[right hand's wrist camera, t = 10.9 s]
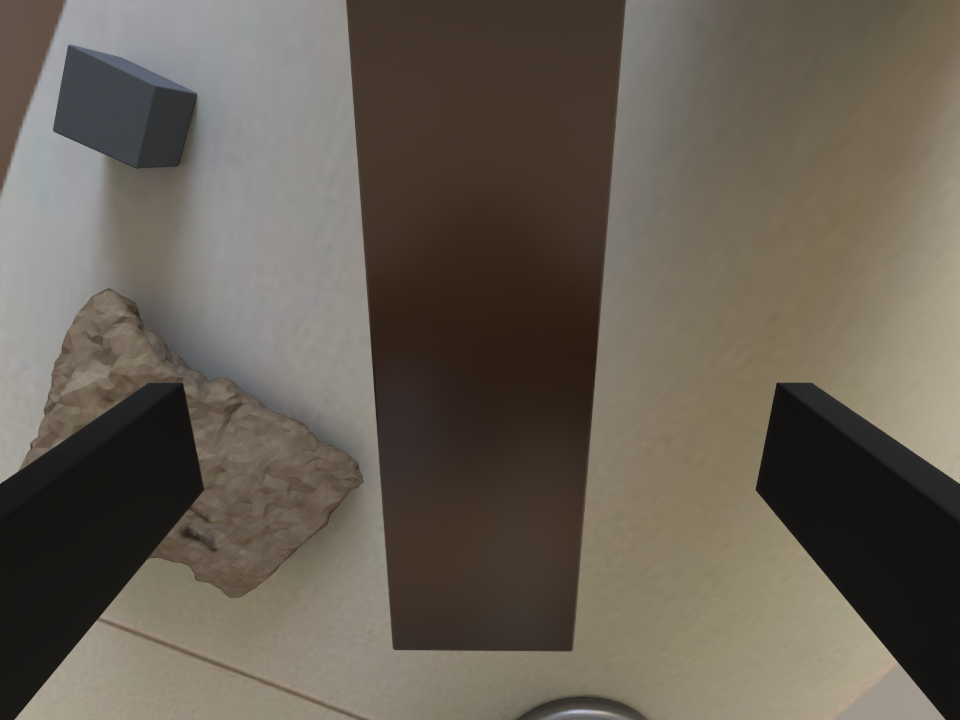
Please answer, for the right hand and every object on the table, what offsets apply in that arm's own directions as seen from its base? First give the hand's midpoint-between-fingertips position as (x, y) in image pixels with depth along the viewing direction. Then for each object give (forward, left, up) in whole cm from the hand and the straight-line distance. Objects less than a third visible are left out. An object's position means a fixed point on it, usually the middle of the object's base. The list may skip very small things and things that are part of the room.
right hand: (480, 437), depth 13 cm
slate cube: (-6, +20, -25) cm, 33 cm away
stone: (-23, +6, -25) cm, 35 cm away
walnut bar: (+8, +6, -6) cm, 11 cm away
